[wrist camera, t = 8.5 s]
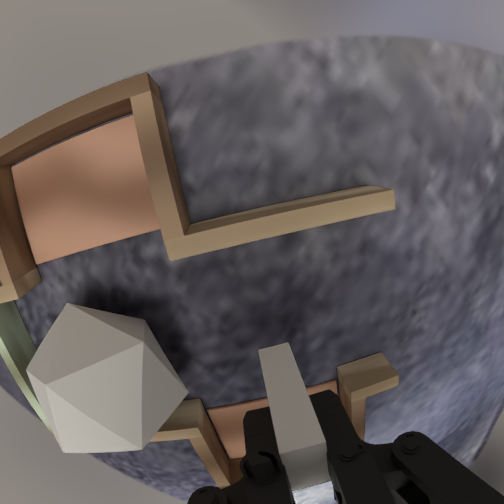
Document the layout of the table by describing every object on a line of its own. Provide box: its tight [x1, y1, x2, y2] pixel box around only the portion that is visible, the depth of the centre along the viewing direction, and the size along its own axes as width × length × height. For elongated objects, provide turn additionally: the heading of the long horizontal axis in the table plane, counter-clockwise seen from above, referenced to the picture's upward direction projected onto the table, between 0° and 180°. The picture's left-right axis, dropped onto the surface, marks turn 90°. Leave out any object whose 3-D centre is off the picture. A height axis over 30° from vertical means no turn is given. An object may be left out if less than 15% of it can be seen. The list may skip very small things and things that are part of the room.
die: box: [26, 303, 189, 453], centre depth 15 cm, size 8×9×10 cm
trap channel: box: [0, 72, 399, 489], centre depth 17 cm, size 29×26×3 cm
